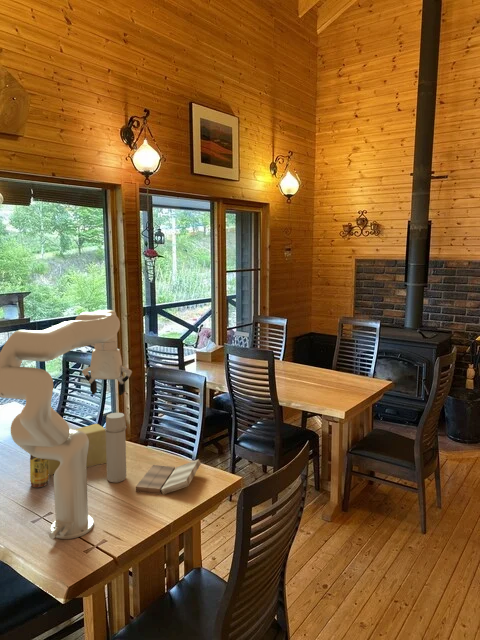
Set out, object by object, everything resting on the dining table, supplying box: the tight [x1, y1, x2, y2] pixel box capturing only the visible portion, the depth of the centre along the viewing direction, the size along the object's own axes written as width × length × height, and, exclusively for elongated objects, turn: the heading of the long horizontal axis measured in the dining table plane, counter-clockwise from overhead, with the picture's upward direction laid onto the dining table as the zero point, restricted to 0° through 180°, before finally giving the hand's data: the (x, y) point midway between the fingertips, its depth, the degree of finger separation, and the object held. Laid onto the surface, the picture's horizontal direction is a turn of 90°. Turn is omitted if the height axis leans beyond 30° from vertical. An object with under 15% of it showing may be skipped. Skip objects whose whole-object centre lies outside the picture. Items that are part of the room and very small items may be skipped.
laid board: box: [135, 464, 176, 495], centre depth 179 cm, size 18×9×2 cm, turn 170°
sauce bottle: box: [29, 454, 50, 489], centre depth 174 cm, size 6×6×20 cm
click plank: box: [161, 458, 201, 495], centre depth 177 cm, size 18×10×2 cm, turn 170°
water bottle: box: [104, 412, 127, 483], centre depth 180 cm, size 9×8×25 cm
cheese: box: [48, 423, 107, 476], centre depth 189 cm, size 22×10×15 cm, turn 130°
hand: (107, 393), depth 167 cm, fingers open, 9 cm apart
